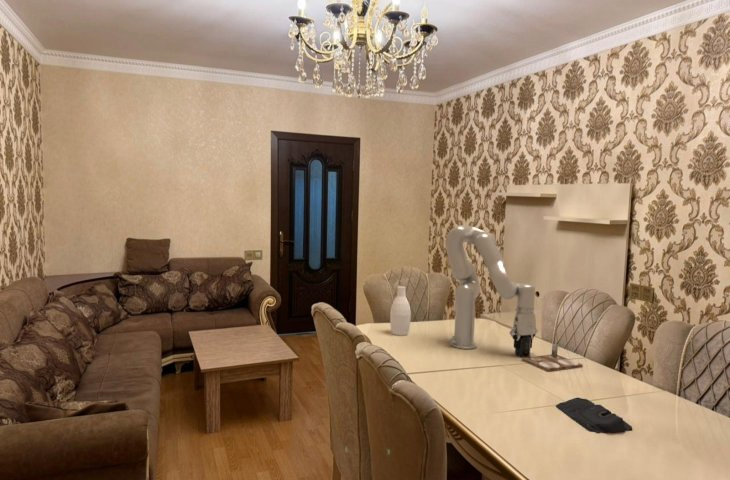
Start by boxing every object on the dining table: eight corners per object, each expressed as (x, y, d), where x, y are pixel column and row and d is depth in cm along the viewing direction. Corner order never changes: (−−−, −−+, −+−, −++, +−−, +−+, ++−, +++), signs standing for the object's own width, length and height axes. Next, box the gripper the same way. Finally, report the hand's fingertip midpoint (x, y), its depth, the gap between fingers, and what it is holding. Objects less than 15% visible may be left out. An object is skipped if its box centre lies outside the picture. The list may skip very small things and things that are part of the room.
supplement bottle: (528, 353, 230) (529, 328, 229) (531, 358, 223) (533, 332, 222) (513, 352, 231) (514, 327, 230) (516, 356, 224) (518, 331, 223)
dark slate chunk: (590, 404, 171) (591, 391, 171) (636, 433, 150) (637, 418, 149) (551, 406, 168) (552, 393, 168) (592, 435, 147) (593, 420, 147)
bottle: (408, 337, 252) (410, 289, 251) (387, 335, 255) (389, 287, 253) (411, 332, 263) (413, 286, 262) (391, 330, 266) (392, 284, 264)
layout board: (548, 371, 204) (549, 355, 204) (521, 360, 219) (522, 344, 218) (582, 367, 212) (583, 351, 212) (554, 356, 227) (555, 341, 227)
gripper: (516, 313, 219) (513, 351, 220) (545, 311, 226) (542, 348, 227) (505, 309, 225) (502, 346, 227) (533, 307, 232) (531, 344, 234)
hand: (522, 347), depth 227 cm, fingers closed on supplement bottle, 6 cm apart
